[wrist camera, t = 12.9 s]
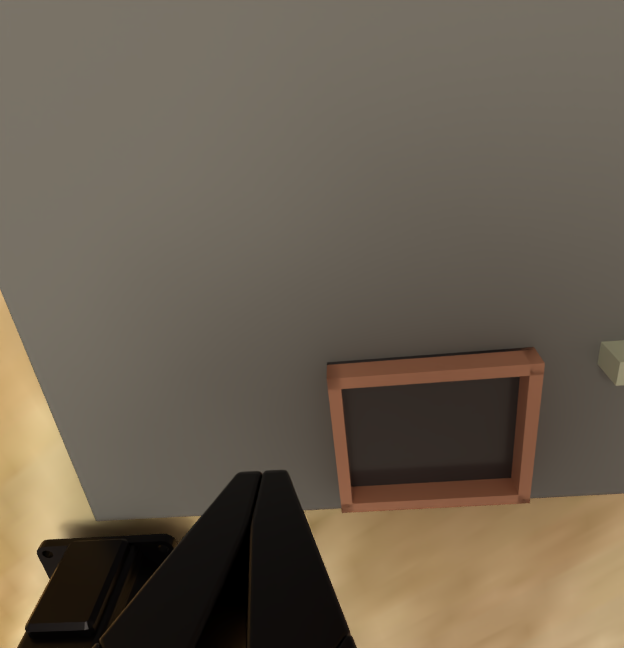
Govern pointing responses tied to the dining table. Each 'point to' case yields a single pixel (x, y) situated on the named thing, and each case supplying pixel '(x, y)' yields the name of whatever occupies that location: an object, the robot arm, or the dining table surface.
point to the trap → (436, 429)
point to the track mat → (305, 224)
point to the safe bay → (612, 360)
